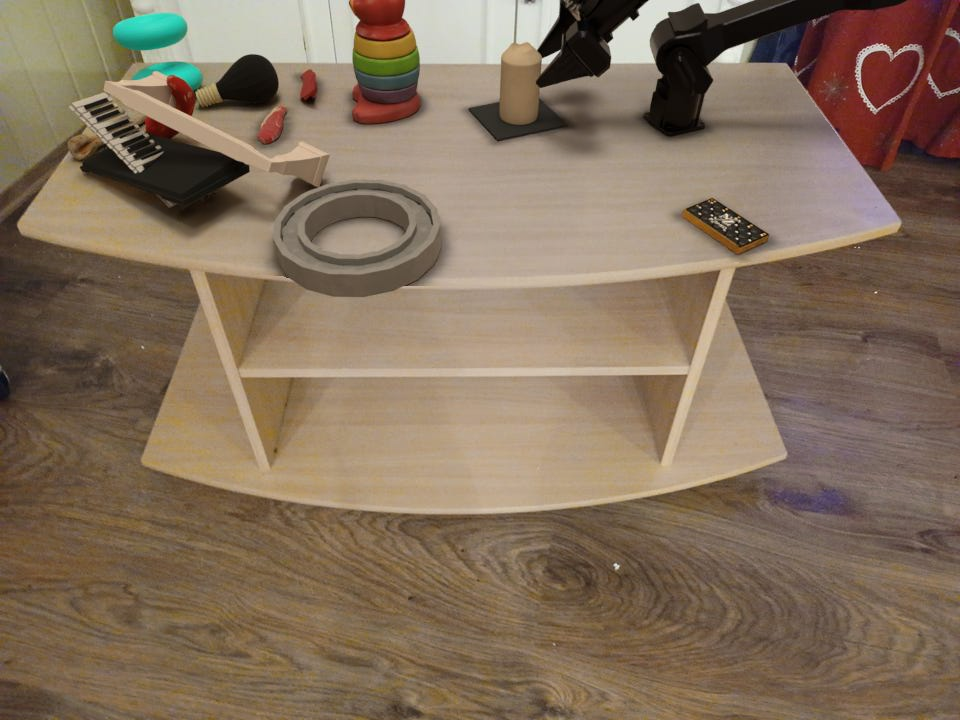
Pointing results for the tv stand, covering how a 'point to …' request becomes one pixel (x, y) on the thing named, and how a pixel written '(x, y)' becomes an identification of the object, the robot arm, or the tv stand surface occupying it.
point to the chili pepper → (309, 85)
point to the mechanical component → (357, 270)
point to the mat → (504, 130)
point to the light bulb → (243, 83)
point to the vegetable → (183, 104)
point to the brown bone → (94, 140)
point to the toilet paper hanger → (214, 130)
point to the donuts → (157, 43)
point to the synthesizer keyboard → (153, 158)
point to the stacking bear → (384, 62)
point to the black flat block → (725, 225)
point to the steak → (272, 125)
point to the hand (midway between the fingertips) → (537, 70)
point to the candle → (519, 84)
